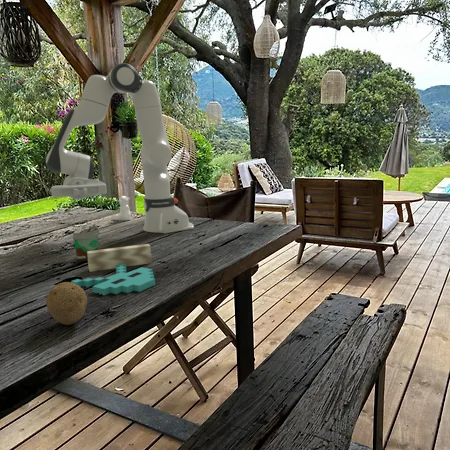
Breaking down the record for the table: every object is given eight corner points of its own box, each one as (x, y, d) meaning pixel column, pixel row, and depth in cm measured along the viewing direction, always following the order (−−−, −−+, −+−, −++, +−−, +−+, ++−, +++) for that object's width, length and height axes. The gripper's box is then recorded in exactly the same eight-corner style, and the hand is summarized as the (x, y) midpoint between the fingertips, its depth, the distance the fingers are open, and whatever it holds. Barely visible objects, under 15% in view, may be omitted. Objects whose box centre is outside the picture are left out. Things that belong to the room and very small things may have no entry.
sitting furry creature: (128, 217, 232) (127, 193, 230) (137, 219, 226) (136, 195, 224) (112, 219, 226) (110, 196, 224) (121, 222, 220) (119, 197, 217)
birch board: (149, 260, 155) (148, 243, 154) (151, 263, 152) (150, 245, 151) (88, 269, 147) (87, 251, 146) (90, 271, 144) (88, 253, 143)
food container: (91, 262, 154) (89, 234, 152) (74, 262, 156) (72, 233, 153) (107, 252, 166) (105, 226, 164) (92, 252, 167) (89, 225, 165)
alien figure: (71, 288, 131) (122, 301, 120) (71, 281, 130) (121, 293, 120) (121, 269, 147) (169, 279, 137) (121, 263, 147) (169, 272, 137)
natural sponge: (59, 314, 111) (55, 276, 109) (95, 315, 111) (91, 276, 108) (42, 331, 103) (37, 289, 100) (80, 332, 102) (76, 289, 100)
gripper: (48, 181, 175) (50, 185, 163) (102, 178, 184) (108, 182, 171) (49, 198, 177) (52, 203, 164) (103, 194, 185) (109, 198, 172)
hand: (81, 192), depth 168 cm, fingers closed
